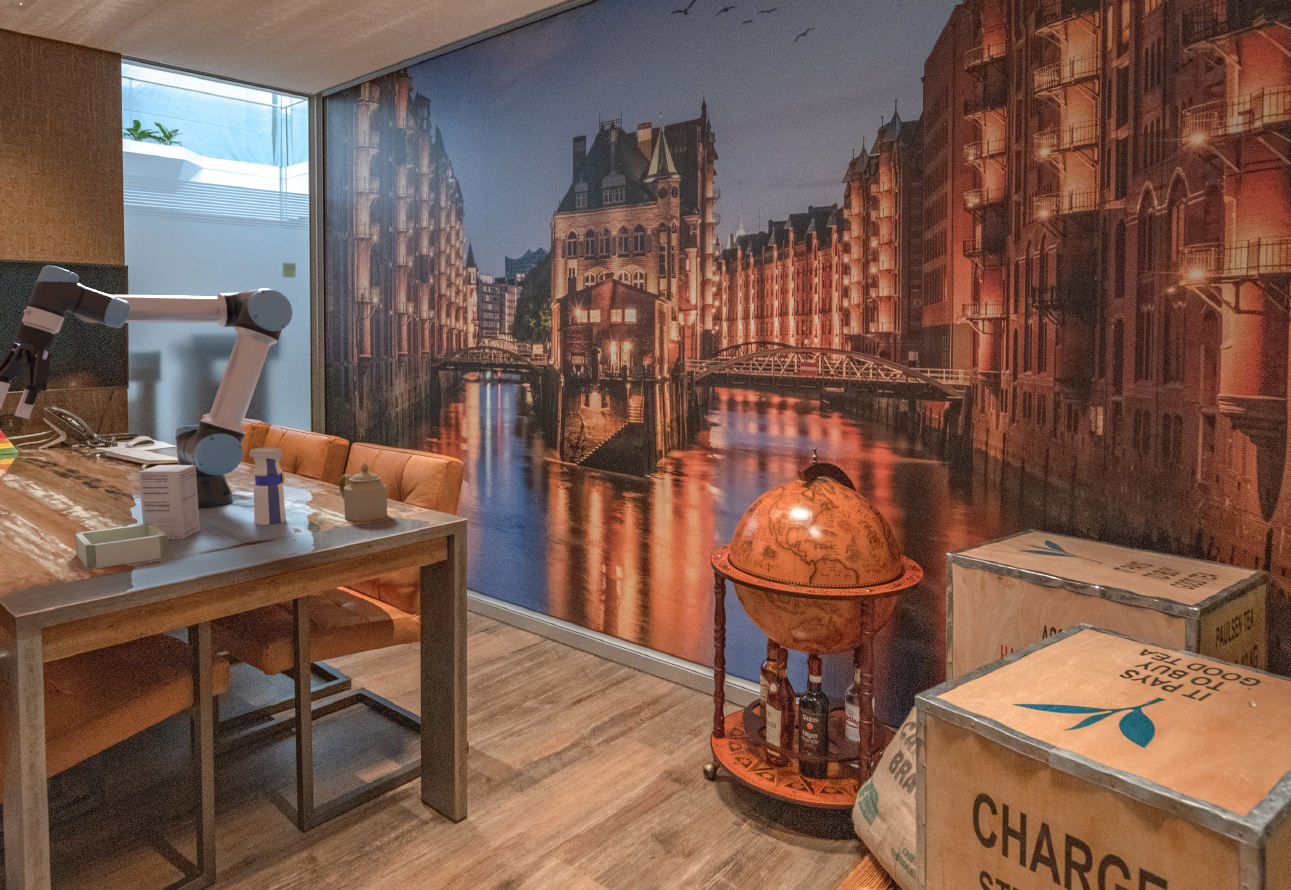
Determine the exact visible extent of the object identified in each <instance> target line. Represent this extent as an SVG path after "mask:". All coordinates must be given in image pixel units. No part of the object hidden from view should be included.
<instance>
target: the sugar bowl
mask: <svg viewBox="0 0 1291 890" xmlns="http://www.w3.org/2000/svg"><path fill="white" fill-rule="evenodd" d="M360 470H361V472H359V473H355V474H353V475H352V476H351V475H350V474H348V473H347V474H343V475H341V476H340V477H339V480H338V486H339V487H338V488H339V492H340V495H341V497H342V499H343V505H344V518H345V520H347V521H349V522H350V521H351V522H371V521H373V522H374V521H378V519H379V520H382V519H384V518H386V517H387V516H388V496H387V495H388V490H387V484H384V483H382V482H381V480H382V477H381V476H379V475H378V474H377V473H374V472H370V471H369V465H368V464H367V463H366V462H363V463H362V465H361V466H360ZM346 483H347V485H346Z"/></svg>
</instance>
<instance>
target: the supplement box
mask: <svg viewBox="0 0 1291 890" xmlns="http://www.w3.org/2000/svg"><path fill="white" fill-rule="evenodd" d="M138 478H139V479H138V480H139V491H140V503H141V516H142V524H149V523H152V524H154V525H155V526H156V527H158V528H159V529H160V530H161V531H163V532H164V533H165V534H167V536H168V540H184V539H186V538H188V537H189V536H191V535H194V534H195V533H197V532H198V531H200V530H201V524H200V522H201V521H200V511H199V508H198V494H197V479H196V466H195V465H178V464H157V465H155V466H152V467H149V468H146V469H144V470H140V471H138Z"/></svg>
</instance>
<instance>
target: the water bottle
mask: <svg viewBox="0 0 1291 890" xmlns="http://www.w3.org/2000/svg"><path fill="white" fill-rule="evenodd" d="M280 430H281V437H282V439H284V433H283V432H284V431H283V427H281V428H280ZM283 452H284V451H283V448H282V449H279V448H278V447H275V446H274V447H273V446H271V447H270V446H269V447H267V446H266V447H256V448H251V449H250V451H249V455H248V456H249V457H252V458H253V460H254V464H255V466H254V470H253V472H252V474H253V475H254V481H255V482H254V483H255V484H254V486H253V487H254V488H253V503H254V504H253V506H254V507H253V508H254V512H253V513H254V514H253V515H254V517H253V519H254V520H253V522H254V524H256V525H260V526H263V525H276V524H281V523H285V522H287V516H286V514H287V513H286V508H285V493H284V487H283V484H284V482H285V474H284V472H283V470H282V467H281V466H280V461H281V462H283V461H282V456H283Z"/></svg>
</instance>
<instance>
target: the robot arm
mask: <svg viewBox="0 0 1291 890" xmlns="http://www.w3.org/2000/svg"><path fill="white" fill-rule="evenodd" d="M79 280H80V276H79V275H78V274H77V273H75V272H72V271H69V270H67V269H64V268H62V267H59V266H55V265H49V264H47V265H45V266H43V267H42V269H41V270H40V273H39V275H38V278H37V280H36V282H35V284H34V287H33V290H32V292H31V296H30V298H29V300H28V304H27V306H26V309H24V310H23V317H22V319H21V321H22V323H23V324H22V323H21V324H20V325H19V326H18V329H17V331H16V334H15V339H16V340H18V341H21V342H20V343H16V342H12V343H11V345H10V348H9V350H8V352H7V353H6V354H5V356H4V357H3V358H2V360H1V361H0V410H1V409H2V407H3V404H4V402H5V399H6V396H7V394H8V392H9V388H10V387H11V384H13V383H12V379H13V378H14V377H15V376H16V375H17V374H18V373H19V372H20V371H21V369H23V368H24V367H25V369H26V385H25V386H24V387H23V389H24V390H23V392H22V395H21V398H20V400H19V402H18V405H17V408H16V411H15V413H14V417H18V418H22V419H23V418H24V419H27V420H29V419H30V417H31V414H32V412H33V408H34V407H35V403H36V400H37V398H38V396H39V394H40V393H41V392H46V391H47V390H48V379H49V368H50V361H51V358H52V354H53V353H52V352H51V351H47V350H45V349H49V350H50V349H51V350H52V349H53V348H54V346H55V343H56V341H57V337H58V336H57V334H58V333H60V330H61V328H62V325H63V323H64V320H65V317H66V315H67V313H70V314H72V315H74V316H75V317H76V318H77V319H78V320H80V321H81V322H83V323H85V324H96V323H97V324H101V325H104V326H106V327H111V328H115V329H120V328H122V327H123V326H124V324H130V323H131V324H133V323H134V324H138V323H139V324H141V323H143V324H149V323H150V324H217V325H219V326H220V327H223V328H227V327H228V328H234V330H235V332H236V333H237V337H236V339H235V342H234V345H233V348H232V351H231V353H230V357H229V359H228V362H227V365H226V367H225V370H224V372H223V376H222V379H221V381H220V383H219V384H220V385H219V387H218V389H217V391H216V395H215V398H214V401H213V403H212V406H211V409H210V411H209V414H208V416H207V417H204V418H202V419H200V422H199V424H191V425H179V426H178V427H177V428H176V429H175V438H174V439H175V441H176V455H177V465H195V466H196V479H197V494H198V508H211V507H218V506H222V505H223V506H224V505H226V504H229V503H232V502H233V500H234V499H233V498H234V497H233V492H232V490H231V487H230V486H229V482H228V480H227V478H226V476H225V475H227V474H229V473H231V472H233V471H235V470H236V469H237V468H238V467H239V465H240V464H241V462H242V460H243V456H244V449H243V447H242V446H243V445H242V444H243V441H244V439H245V435H246V432H245V430H244V428H243V424H244V420H245V418H246V416H247V415H246V414H247V412H248V410H249V407H250V403H251V401H252V398H253V395H254V392H255V390H256V388H257V384H258V381H259V379H260V375H261V373H262V369H263V368H264V367H263V366H264V365H265V362H266V358H267V356H268V353H269V351H270V350H269V349H270V347H271V346H273V345H275V344H278V343H279V339H280V336H281V334H282V330H284V329H285V328H286V327H287V326H289V324H290V323H291V321H292V318H293V307H292V304H291V302H290V300H289V299H288V297H287V296H285V295H284V294H283V293H282V292H280V291H278V290H275V289H271V288H269V287H268V288H266V287H264V288H257V289H251V290H249V289H248V290H244V291H238V292H227V293H226V292H225V293H223V292H219V293H218V294H216V295H215V296H201V295H160V294H159V295H155V294H153V295H152V294H118V293H117V294H114V293H113V294H109V293H106V292H102V291H99V290H96V289H94V288H90V287H87V286H85V285H82V284H81V283H80V281H79ZM56 333H57V334H56Z"/></svg>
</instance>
